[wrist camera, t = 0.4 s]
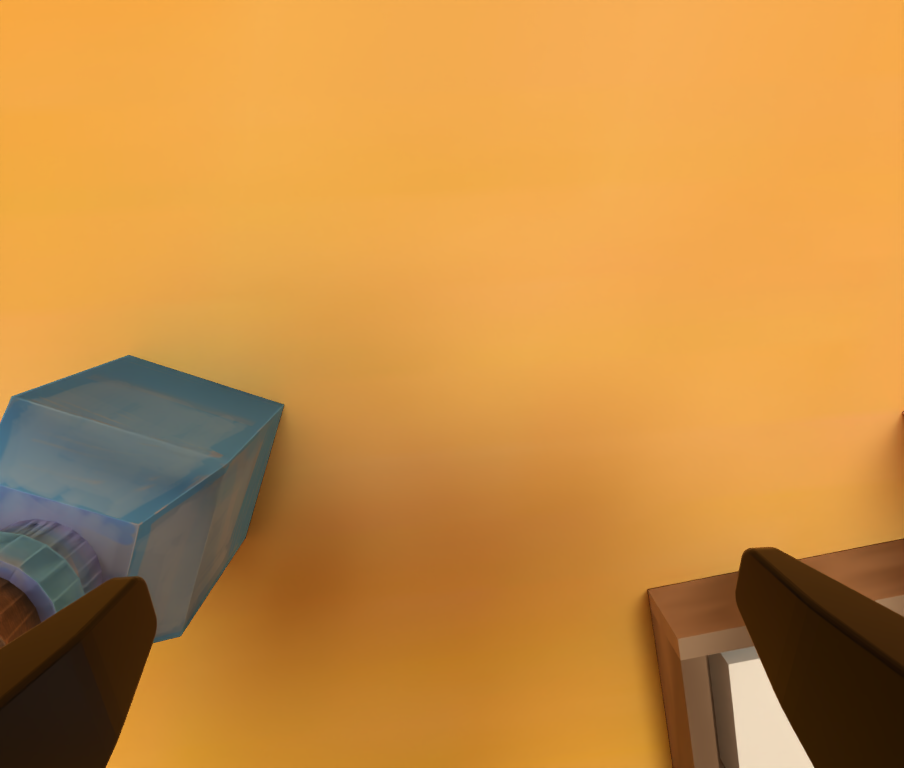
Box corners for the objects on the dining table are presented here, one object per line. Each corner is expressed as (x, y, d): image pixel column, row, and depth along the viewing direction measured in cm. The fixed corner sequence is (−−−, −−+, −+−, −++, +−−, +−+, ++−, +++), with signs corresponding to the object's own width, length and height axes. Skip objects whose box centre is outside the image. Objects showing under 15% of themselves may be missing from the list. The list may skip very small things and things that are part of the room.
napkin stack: (870, 729, 26) (905, 769, 24) (720, 758, 26) (742, 799, 24) (866, 599, 24) (902, 630, 22) (705, 631, 24) (728, 664, 23)
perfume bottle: (129, 354, 22) (-224, 480, 10) (284, 404, 22) (119, 575, 11) (98, 494, 23) (-245, 745, 12) (245, 537, 24) (61, 817, 12)
